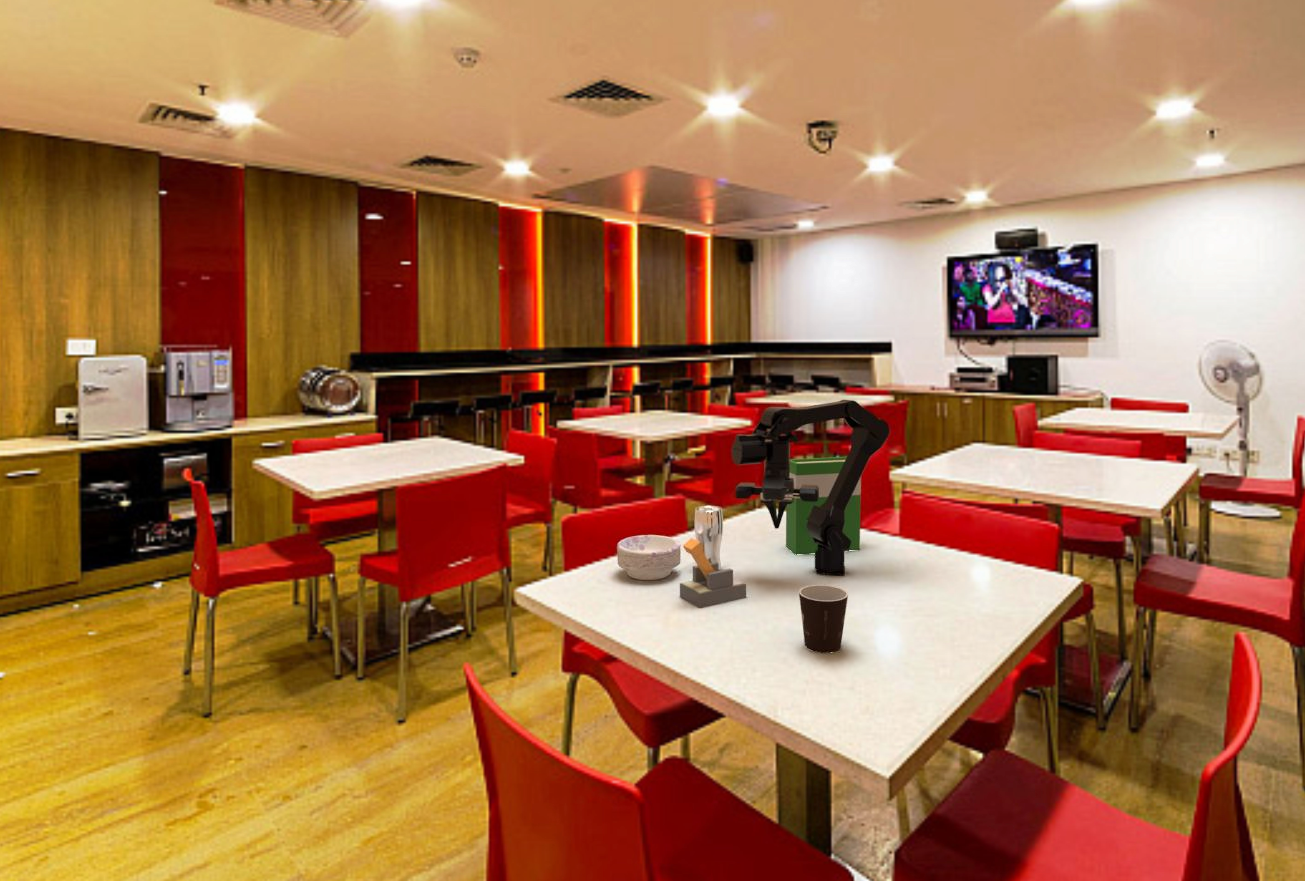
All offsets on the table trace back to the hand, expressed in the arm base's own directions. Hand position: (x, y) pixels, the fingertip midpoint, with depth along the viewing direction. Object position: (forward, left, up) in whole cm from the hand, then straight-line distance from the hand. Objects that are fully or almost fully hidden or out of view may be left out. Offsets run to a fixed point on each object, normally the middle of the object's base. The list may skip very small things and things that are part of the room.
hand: (776, 528), depth 169 cm
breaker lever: (+12, +16, -8) cm, 22 cm away
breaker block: (+12, +16, -12) cm, 23 cm away
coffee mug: (-12, +38, -12) cm, 42 cm away
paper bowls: (+30, +4, -12) cm, 33 cm away
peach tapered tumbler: (+17, -4, -12) cm, 21 cm away
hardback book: (-9, -27, -12) cm, 31 cm away
